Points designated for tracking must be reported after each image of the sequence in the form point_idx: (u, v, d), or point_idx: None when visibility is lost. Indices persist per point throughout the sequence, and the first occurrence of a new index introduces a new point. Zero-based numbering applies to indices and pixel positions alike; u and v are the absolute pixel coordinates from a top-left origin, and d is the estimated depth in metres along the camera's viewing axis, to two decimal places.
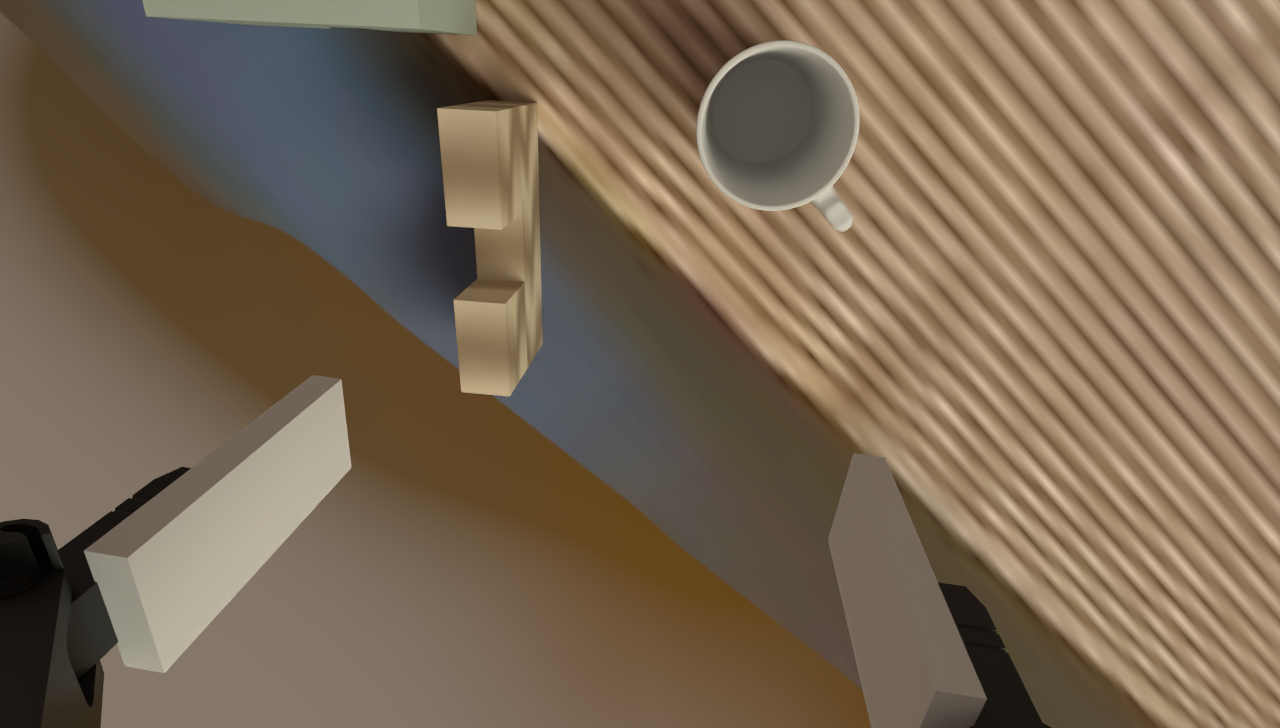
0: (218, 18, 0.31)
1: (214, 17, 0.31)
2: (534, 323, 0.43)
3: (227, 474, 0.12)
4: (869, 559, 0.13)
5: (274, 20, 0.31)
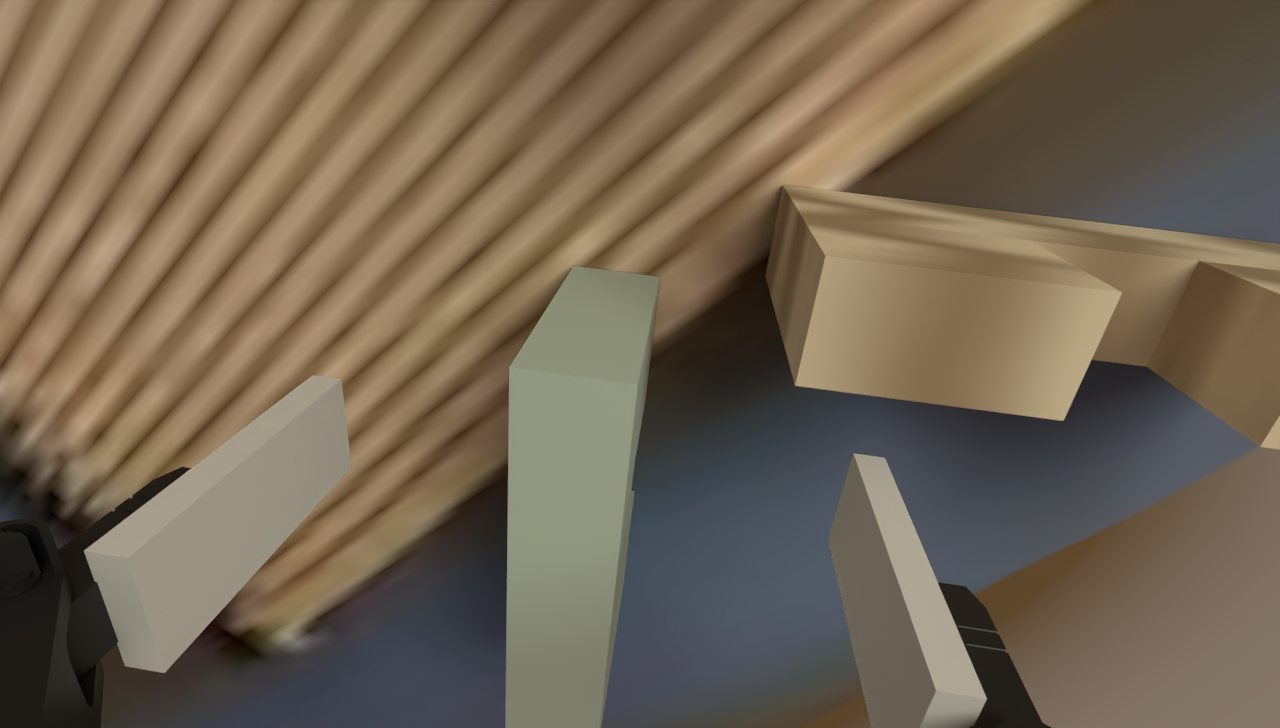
0: (603, 683, 0.19)
1: (601, 687, 0.19)
2: None
3: (227, 474, 0.12)
4: (869, 559, 0.13)
5: (609, 613, 0.18)
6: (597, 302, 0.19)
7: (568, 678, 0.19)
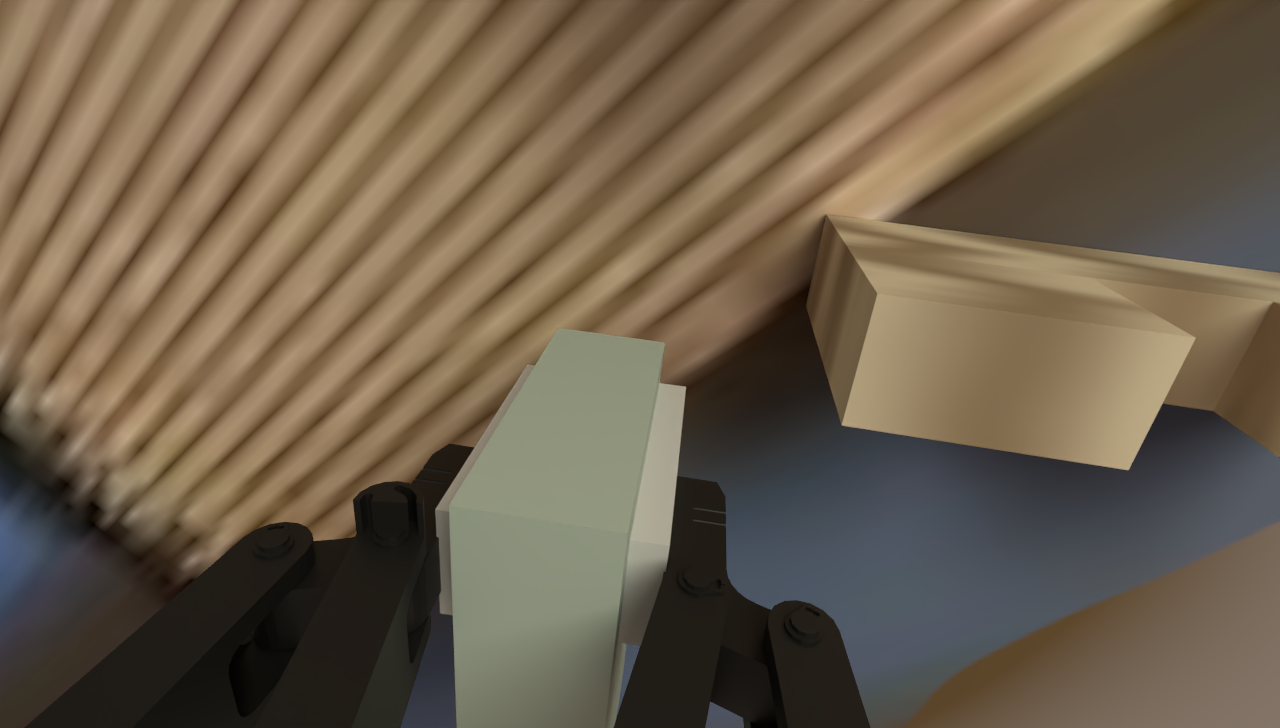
0: None
1: None
2: None
3: None
4: None
5: None
6: (583, 385, 0.15)
7: None
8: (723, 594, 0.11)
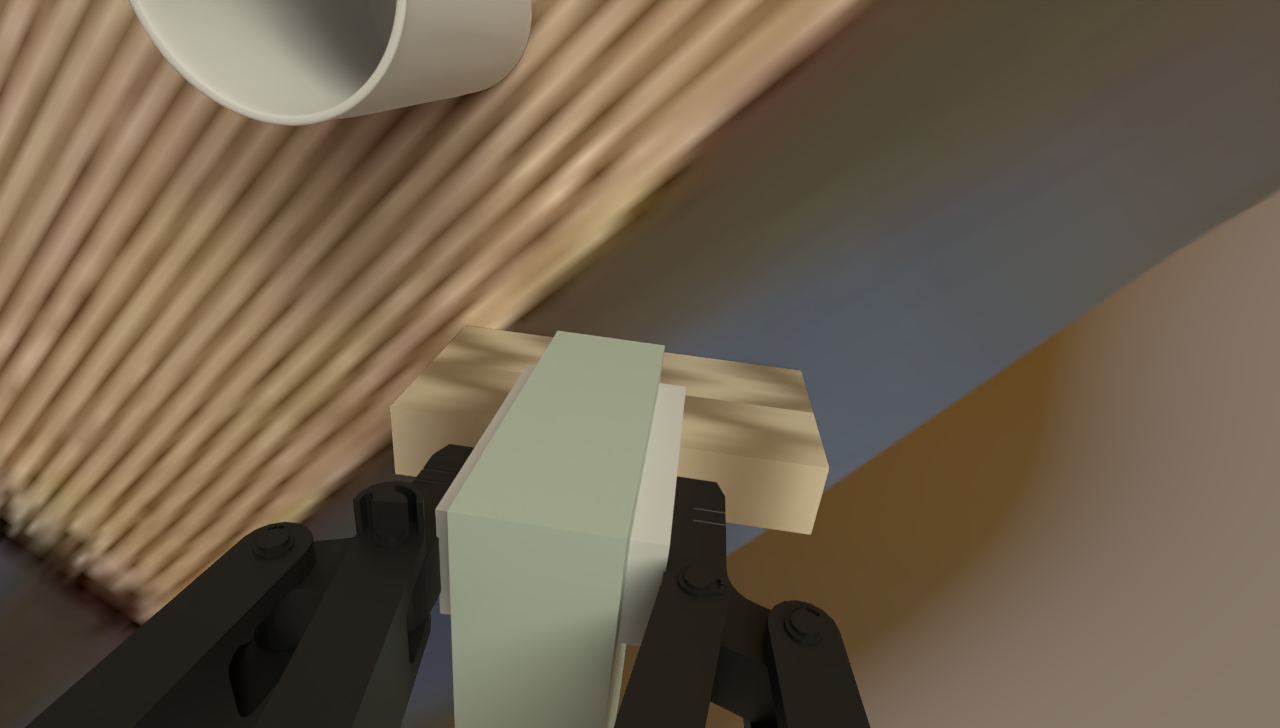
0: None
1: None
2: (752, 383, 0.28)
3: None
4: None
5: None
6: (583, 388, 0.15)
7: None
8: (723, 594, 0.11)
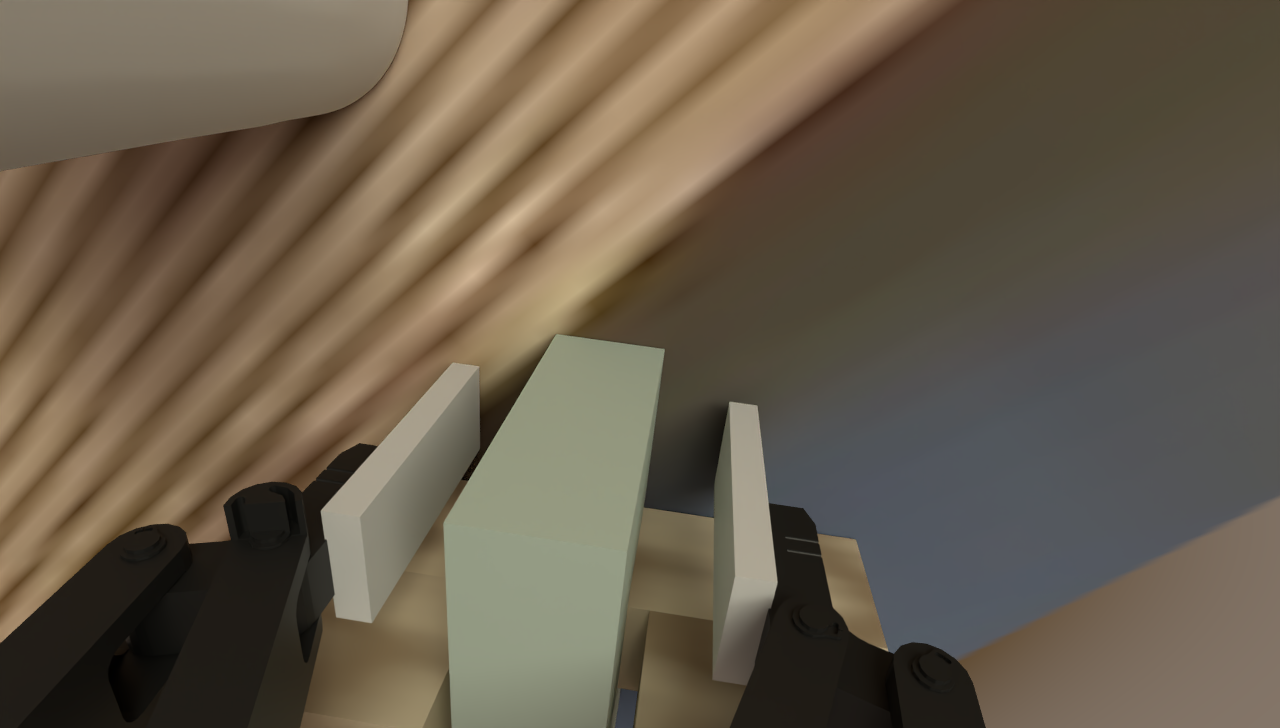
0: None
1: None
2: None
3: (414, 448, 0.14)
4: (725, 488, 0.15)
5: None
6: (581, 394, 0.15)
7: None
8: (840, 640, 0.10)
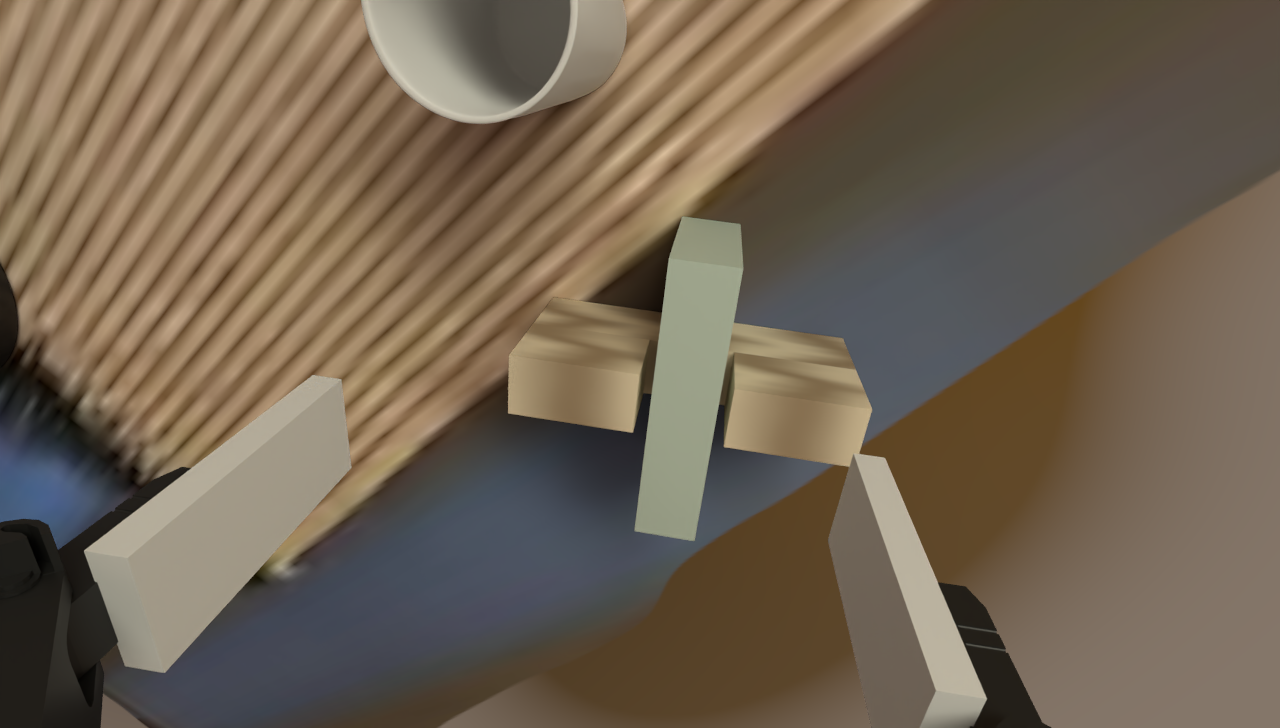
0: (704, 477, 0.30)
1: (703, 481, 0.30)
2: (802, 346, 0.33)
3: (227, 474, 0.12)
4: (869, 559, 0.13)
5: (713, 424, 0.29)
6: (705, 234, 0.30)
7: (682, 474, 0.30)
8: None
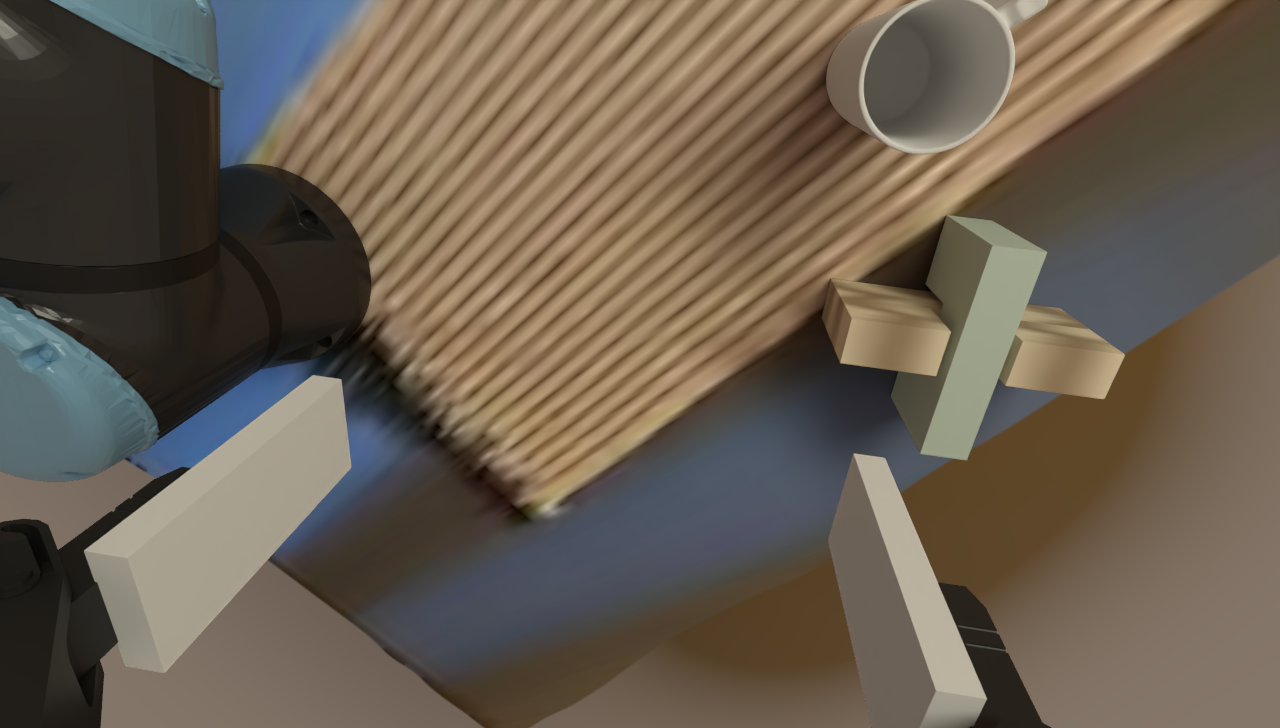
0: (985, 410, 0.40)
1: (983, 412, 0.40)
2: (1038, 313, 0.43)
3: (227, 474, 0.12)
4: (869, 559, 0.13)
5: (1000, 368, 0.39)
6: (984, 228, 0.40)
7: (968, 407, 0.40)
8: None
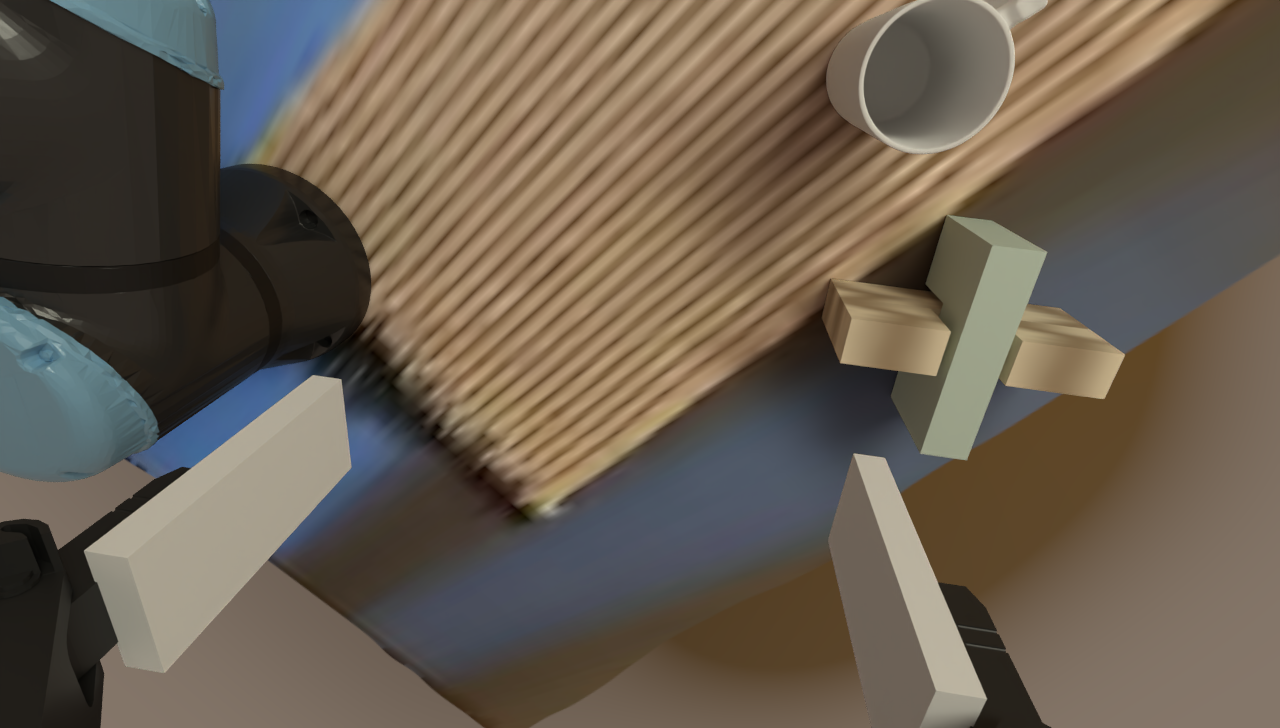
0: (985, 409, 0.40)
1: (983, 412, 0.40)
2: (1038, 313, 0.43)
3: (227, 474, 0.12)
4: (869, 559, 0.13)
5: (1000, 368, 0.39)
6: (984, 228, 0.40)
7: (968, 407, 0.40)
8: None
